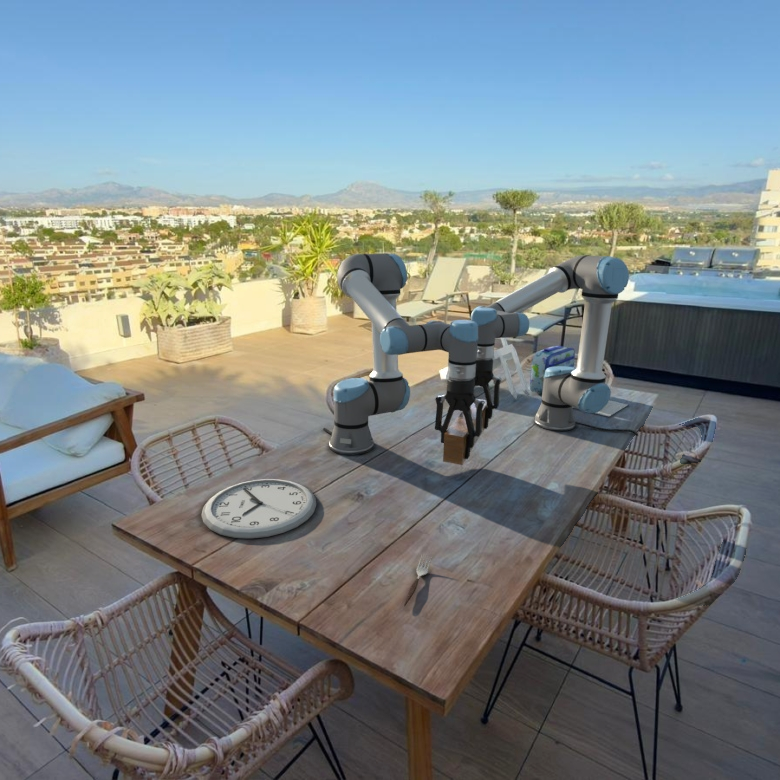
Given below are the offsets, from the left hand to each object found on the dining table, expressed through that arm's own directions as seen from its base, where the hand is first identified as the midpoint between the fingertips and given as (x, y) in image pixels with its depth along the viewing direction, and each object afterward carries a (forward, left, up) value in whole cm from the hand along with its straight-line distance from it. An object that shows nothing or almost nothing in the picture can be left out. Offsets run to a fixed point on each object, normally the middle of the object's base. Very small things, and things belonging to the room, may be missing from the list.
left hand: (456, 455), depth 150 cm
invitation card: (+1, +106, -11) cm, 106 cm away
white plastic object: (-48, +85, -11) cm, 98 cm away
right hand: (-9, +24, 0) cm, 26 cm away
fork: (+20, -41, -11) cm, 46 cm away
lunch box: (-25, +111, -11) cm, 114 cm away
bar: (-5, +12, -1) cm, 13 cm away
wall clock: (-31, -45, -11) cm, 56 cm away
